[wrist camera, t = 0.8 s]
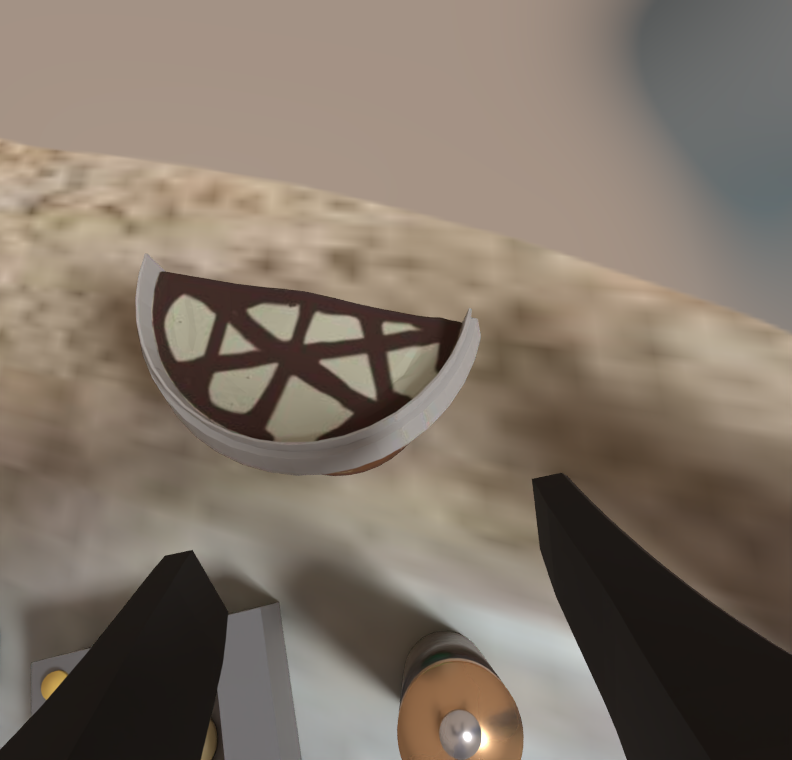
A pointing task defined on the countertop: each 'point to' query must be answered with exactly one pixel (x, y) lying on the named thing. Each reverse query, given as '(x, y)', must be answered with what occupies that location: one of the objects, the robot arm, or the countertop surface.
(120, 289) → the countertop surface
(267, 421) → the food container
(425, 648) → the battery cell
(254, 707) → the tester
